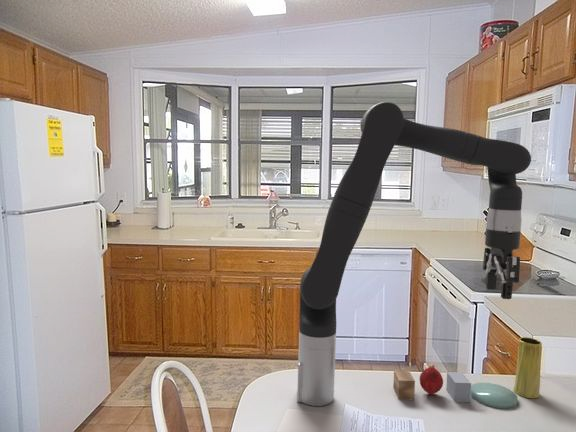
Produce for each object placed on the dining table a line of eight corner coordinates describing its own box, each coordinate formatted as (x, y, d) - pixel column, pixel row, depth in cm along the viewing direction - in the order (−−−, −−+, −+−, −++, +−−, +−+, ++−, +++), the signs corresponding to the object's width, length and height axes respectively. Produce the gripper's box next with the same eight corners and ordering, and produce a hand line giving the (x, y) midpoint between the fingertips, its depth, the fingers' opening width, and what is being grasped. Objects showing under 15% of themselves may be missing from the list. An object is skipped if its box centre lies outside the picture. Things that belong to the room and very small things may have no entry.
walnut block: (398, 399, 111) (399, 380, 110) (393, 387, 117) (394, 369, 116) (414, 399, 111) (415, 380, 110) (408, 388, 117) (409, 370, 116)
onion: (443, 401, 110) (445, 370, 109) (420, 398, 111) (421, 368, 110) (440, 390, 116) (442, 361, 115) (418, 387, 117) (419, 359, 116)
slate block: (453, 401, 110) (455, 382, 110) (446, 390, 116) (447, 372, 116) (469, 402, 110) (471, 383, 110) (461, 390, 116) (462, 372, 116)
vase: (514, 395, 114) (518, 342, 113) (512, 385, 119) (516, 335, 118) (541, 400, 112) (545, 346, 110) (537, 390, 117) (541, 338, 116)
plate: (479, 407, 108) (480, 402, 107) (463, 386, 119) (463, 381, 118) (525, 409, 107) (525, 404, 107) (504, 387, 118) (505, 383, 118)
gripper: (475, 224, 113) (471, 286, 114) (500, 231, 98) (495, 301, 100) (505, 225, 112) (500, 287, 114) (534, 232, 98) (528, 302, 100)
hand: (498, 293), depth 107 cm, fingers open, 8 cm apart
